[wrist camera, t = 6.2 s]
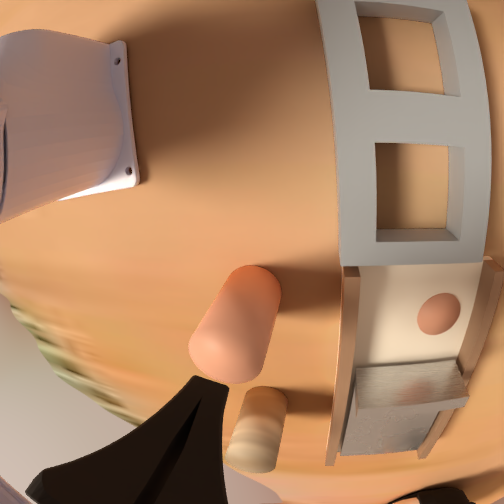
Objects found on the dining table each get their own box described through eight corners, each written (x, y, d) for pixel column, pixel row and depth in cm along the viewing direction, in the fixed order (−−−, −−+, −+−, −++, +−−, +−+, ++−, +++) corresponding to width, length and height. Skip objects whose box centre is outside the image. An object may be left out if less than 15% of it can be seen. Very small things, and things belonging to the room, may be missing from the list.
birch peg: (242, 384, 21) (220, 447, 16) (287, 387, 21) (273, 454, 15) (247, 411, 23) (229, 469, 17) (288, 414, 22) (276, 475, 16)
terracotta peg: (222, 265, 18) (181, 323, 12) (279, 265, 17) (259, 328, 12) (230, 314, 19) (197, 379, 14) (283, 315, 18) (266, 386, 13)
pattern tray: (342, 259, 16) (344, 277, 14) (488, 255, 14) (505, 271, 12) (326, 446, 23) (324, 465, 21) (423, 440, 21) (425, 458, 19)
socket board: (314, -2, 11) (313, -18, 9) (452, 10, 9) (466, -1, 7) (338, 251, 16) (340, 266, 14) (467, 248, 14) (482, 262, 12)
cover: (355, 367, 17) (358, 408, 14) (454, 359, 16) (469, 396, 12) (340, 448, 21) (338, 481, 18) (417, 442, 19) (421, 473, 16)
